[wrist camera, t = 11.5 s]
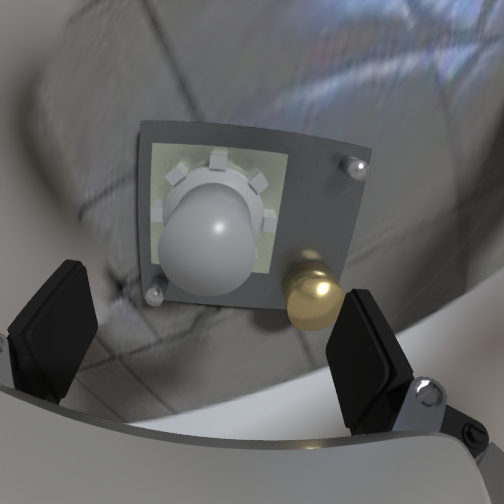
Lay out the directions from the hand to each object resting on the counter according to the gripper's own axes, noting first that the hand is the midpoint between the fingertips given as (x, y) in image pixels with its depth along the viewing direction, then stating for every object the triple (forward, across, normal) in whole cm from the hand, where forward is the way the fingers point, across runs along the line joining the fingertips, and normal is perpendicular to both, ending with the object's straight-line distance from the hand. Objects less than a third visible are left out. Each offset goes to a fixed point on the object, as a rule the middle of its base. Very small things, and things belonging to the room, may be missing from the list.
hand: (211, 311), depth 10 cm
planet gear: (+11, +1, 0) cm, 11 cm away
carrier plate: (+13, -2, +2) cm, 13 cm away
